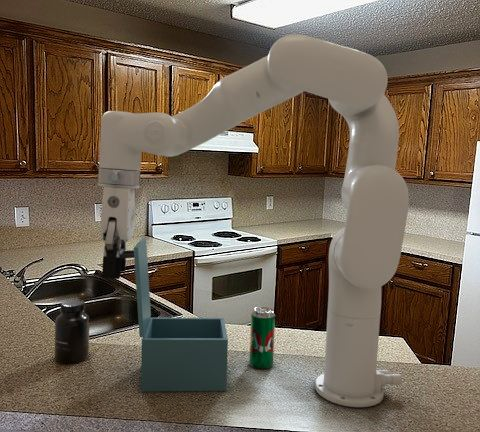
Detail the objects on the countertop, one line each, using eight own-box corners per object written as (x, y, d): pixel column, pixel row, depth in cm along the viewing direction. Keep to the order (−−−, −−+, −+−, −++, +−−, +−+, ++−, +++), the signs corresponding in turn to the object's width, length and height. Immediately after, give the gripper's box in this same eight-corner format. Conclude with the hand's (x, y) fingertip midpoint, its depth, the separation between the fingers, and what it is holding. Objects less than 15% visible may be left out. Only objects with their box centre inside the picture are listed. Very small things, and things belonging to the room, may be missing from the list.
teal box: (222, 362, 96) (223, 317, 95) (226, 390, 84) (227, 339, 83) (148, 362, 95) (149, 317, 94) (140, 391, 82) (141, 339, 81)
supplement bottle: (52, 365, 92) (52, 308, 91) (57, 352, 98) (57, 298, 97) (87, 363, 93) (88, 306, 92) (90, 350, 100) (90, 297, 99)
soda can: (271, 360, 99) (274, 306, 97) (274, 370, 93) (276, 313, 92) (248, 359, 98) (250, 306, 97) (249, 369, 93) (252, 313, 92)
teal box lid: (146, 237, 92) (118, 238, 92) (138, 247, 80) (105, 249, 79) (151, 315, 94) (123, 317, 93) (144, 337, 81) (112, 339, 81)
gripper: (133, 182, 76) (127, 287, 78) (144, 179, 93) (139, 266, 95) (87, 178, 76) (82, 284, 77) (107, 177, 92) (102, 264, 94)
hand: (114, 273), depth 86 cm, fingers closed on teal box lid, 5 cm apart
